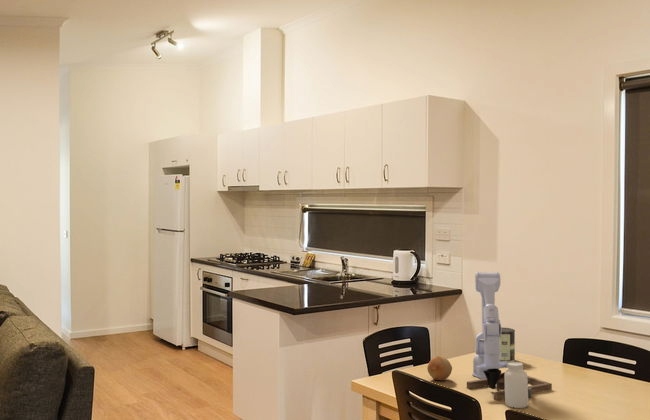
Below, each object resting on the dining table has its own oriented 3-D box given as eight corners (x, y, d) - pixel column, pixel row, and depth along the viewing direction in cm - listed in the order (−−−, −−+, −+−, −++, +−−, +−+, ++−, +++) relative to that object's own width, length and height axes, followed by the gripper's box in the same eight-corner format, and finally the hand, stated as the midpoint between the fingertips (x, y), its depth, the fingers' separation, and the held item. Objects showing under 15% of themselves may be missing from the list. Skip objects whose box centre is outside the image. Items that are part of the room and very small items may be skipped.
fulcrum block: (523, 397, 229) (523, 388, 229) (523, 395, 231) (523, 386, 231) (531, 398, 228) (531, 389, 228) (531, 395, 231) (531, 387, 231)
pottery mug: (527, 396, 232) (518, 378, 230) (504, 405, 234) (495, 388, 232) (520, 379, 243) (511, 362, 242) (498, 388, 245) (489, 371, 244)
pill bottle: (501, 402, 223) (500, 361, 223) (521, 400, 225) (520, 359, 224) (511, 409, 216) (510, 367, 215) (532, 407, 217) (531, 365, 217)
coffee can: (506, 356, 290) (506, 326, 290) (519, 361, 280) (519, 331, 280) (487, 357, 287) (487, 328, 287) (499, 363, 277) (499, 332, 277)
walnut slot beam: (466, 387, 241) (466, 381, 241) (519, 378, 253) (519, 372, 253) (496, 400, 226) (496, 393, 226) (551, 389, 238) (551, 383, 238)
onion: (453, 383, 246) (452, 359, 246) (428, 383, 248) (427, 358, 247) (451, 377, 256) (450, 353, 256) (426, 376, 257) (426, 352, 257)
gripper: (484, 357, 229) (484, 393, 229) (513, 353, 235) (513, 388, 235) (472, 353, 235) (472, 388, 235) (501, 349, 242) (501, 383, 242)
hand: (492, 388), depth 236 cm, fingers closed
